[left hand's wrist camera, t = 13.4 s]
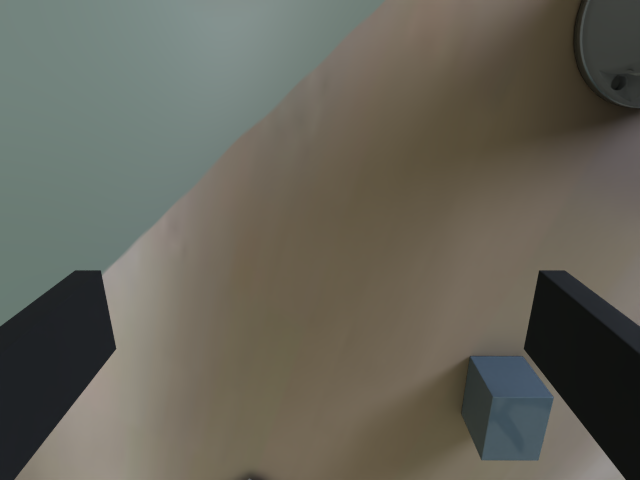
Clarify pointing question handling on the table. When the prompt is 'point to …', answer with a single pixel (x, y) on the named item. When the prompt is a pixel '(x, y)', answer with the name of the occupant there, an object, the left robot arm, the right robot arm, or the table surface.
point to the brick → (505, 408)
